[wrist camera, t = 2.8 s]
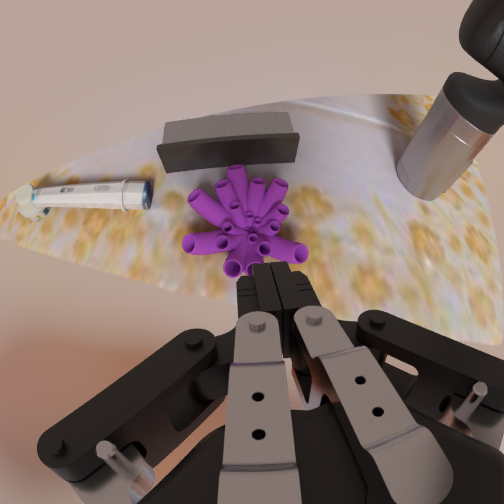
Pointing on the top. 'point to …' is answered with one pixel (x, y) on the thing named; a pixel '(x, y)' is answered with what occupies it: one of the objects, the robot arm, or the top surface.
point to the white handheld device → (84, 197)
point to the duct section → (228, 141)
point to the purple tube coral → (243, 223)
